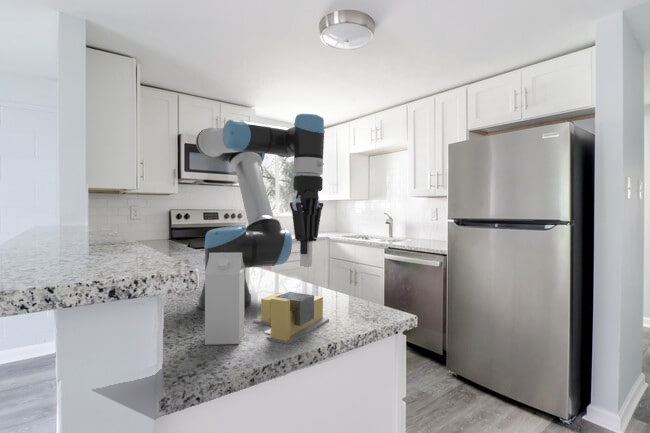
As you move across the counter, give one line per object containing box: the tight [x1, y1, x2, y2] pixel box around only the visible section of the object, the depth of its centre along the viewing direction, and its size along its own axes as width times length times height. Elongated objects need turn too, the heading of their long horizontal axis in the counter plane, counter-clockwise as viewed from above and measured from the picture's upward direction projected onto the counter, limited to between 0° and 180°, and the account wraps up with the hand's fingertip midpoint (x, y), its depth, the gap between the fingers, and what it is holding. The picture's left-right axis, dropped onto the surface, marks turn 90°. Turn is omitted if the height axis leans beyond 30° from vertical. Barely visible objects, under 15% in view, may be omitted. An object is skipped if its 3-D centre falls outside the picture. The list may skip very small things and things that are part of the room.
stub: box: [252, 292, 283, 327], centre depth 89 cm, size 6×9×6 cm, turn 151°
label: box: [263, 328, 271, 335], centre depth 81 cm, size 3×6×1 cm, turn 151°
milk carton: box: [204, 253, 245, 346], centre depth 75 cm, size 7×7×19 cm
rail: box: [266, 295, 330, 345], centre depth 82 cm, size 6×18×9 cm, turn 151°
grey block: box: [276, 291, 315, 326], centre depth 79 cm, size 7×6×6 cm
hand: (305, 265), depth 90 cm, fingers closed
